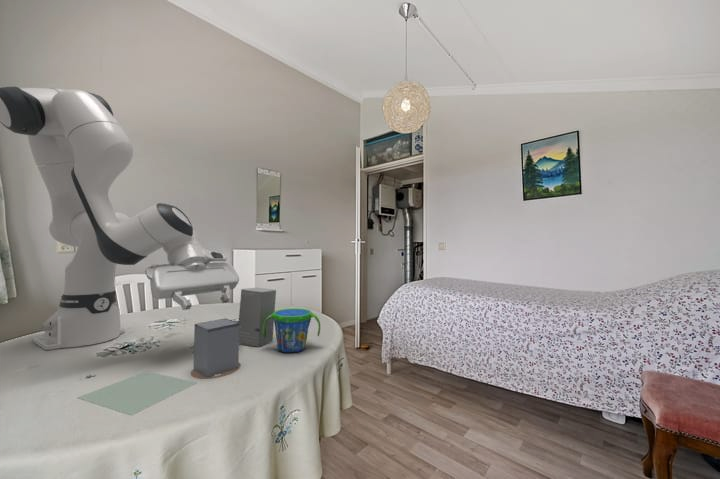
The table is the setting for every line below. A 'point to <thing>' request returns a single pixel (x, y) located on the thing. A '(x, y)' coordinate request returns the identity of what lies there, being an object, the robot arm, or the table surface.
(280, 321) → the snack cup
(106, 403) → the mat
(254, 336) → the skincare box
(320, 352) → the table surface
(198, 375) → the brown knobbed lid
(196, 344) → the gray box
